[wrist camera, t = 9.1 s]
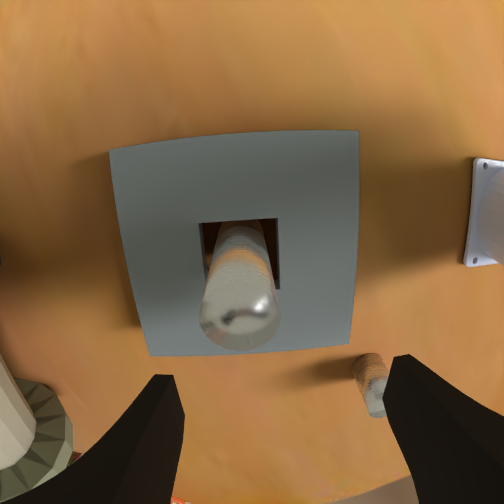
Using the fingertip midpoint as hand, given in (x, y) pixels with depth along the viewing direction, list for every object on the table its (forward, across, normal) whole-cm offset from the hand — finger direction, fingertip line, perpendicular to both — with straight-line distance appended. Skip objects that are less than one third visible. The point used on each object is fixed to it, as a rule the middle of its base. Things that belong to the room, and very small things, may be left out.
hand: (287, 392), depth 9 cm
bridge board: (+10, +1, -2) cm, 11 cm away
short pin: (+10, -8, +9) cm, 16 cm away
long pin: (+10, +1, -2) cm, 11 cm away
